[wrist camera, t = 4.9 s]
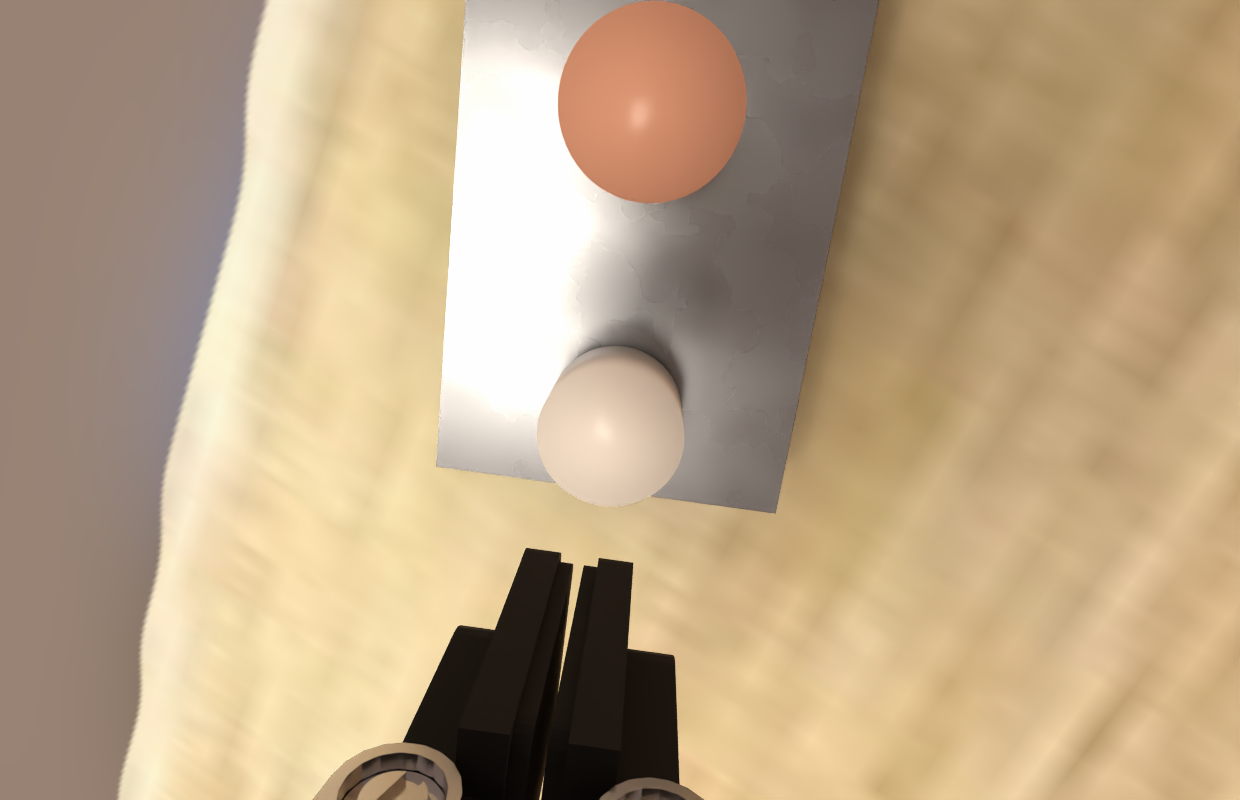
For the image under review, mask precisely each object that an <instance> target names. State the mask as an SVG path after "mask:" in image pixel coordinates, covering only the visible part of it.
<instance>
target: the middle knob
mask: <svg viewBox="0 0 1240 800" xmlns="http://www.w3.org/2000/svg"><path fill="white" fill-rule="evenodd" d="M746 107H747V94H746V85H745V78H744V74H743V71H742V67H741V64H740V62H739V59H738V57H737V55H736V52H735V51H734V49H733V47H732V46H731V44H730V42H729V41H728V39H727V38H726V37H725V36H724V34H723V33H722V32H721V31H720V30H719V29H718V28H717V27H716V26H715V25H714V24H713V23H712V22H711V21H710V20H708V19H707V18H705V17H704V16H703V15H701V14H700V13H698V12H696V11H694V10H692V9H690V8H688V7H685V6H682V5H679V4H676V3H671V2H666V1H643V2H636V3H632V4H628V5H625V6H623V7H620V8H617V9H615V10H613V11H611V12H610V13H608V14H606V15H604V16H603V17H601V18H600V19H599V20H598V21H596V22H595V23H594V24H593V25H591V26H590V27H589V28H588V29H587V30H586V31H585V32H584V34H583V35H582V36H581V37H580V39H579V40H578V41H577V43H576V44H575V46H574V47H573V49H572V51H571V53H570V54H569V56H568V59H567V61H566V63H565V66H564V68H563V72H562V75H561V79H560V84H559V90H558V118H559V124H560V128H561V133H562V136H563V139H564V142H565V144H566V146H567V149H568V151H569V153H570V155H571V157H572V158H573V160H574V161H575V163H576V164H577V166H578V167H579V168H580V169H581V171H582V172H583V173H584V174H585V175H586V176H587V177H588V178H589V179H590V180H591V181H592V182H593V183H595V184H596V185H597V186H599V187H600V188H602V189H603V190H605V191H606V192H608V193H610V194H612V195H614V196H616V197H619V198H622V199H625V200H628V201H633V202H638V203H663V202H668V201H673V200H676V199H679V198H682V197H685V196H687V195H689V194H691V193H693V192H695V191H697V190H698V189H700V188H701V187H703V186H704V185H706V184H707V183H708V182H709V181H711V180H712V179H713V178H714V177H715V176H716V175H717V174H718V173H719V172H720V171H721V169H722V168H723V167H724V166H725V165H726V163H727V162H728V160H729V159H730V157H731V156H732V154H733V152H734V150H735V148H736V146H737V144H738V142H739V139H740V136H741V133H742V131H743V126H744V122H745V117H746Z"/></svg>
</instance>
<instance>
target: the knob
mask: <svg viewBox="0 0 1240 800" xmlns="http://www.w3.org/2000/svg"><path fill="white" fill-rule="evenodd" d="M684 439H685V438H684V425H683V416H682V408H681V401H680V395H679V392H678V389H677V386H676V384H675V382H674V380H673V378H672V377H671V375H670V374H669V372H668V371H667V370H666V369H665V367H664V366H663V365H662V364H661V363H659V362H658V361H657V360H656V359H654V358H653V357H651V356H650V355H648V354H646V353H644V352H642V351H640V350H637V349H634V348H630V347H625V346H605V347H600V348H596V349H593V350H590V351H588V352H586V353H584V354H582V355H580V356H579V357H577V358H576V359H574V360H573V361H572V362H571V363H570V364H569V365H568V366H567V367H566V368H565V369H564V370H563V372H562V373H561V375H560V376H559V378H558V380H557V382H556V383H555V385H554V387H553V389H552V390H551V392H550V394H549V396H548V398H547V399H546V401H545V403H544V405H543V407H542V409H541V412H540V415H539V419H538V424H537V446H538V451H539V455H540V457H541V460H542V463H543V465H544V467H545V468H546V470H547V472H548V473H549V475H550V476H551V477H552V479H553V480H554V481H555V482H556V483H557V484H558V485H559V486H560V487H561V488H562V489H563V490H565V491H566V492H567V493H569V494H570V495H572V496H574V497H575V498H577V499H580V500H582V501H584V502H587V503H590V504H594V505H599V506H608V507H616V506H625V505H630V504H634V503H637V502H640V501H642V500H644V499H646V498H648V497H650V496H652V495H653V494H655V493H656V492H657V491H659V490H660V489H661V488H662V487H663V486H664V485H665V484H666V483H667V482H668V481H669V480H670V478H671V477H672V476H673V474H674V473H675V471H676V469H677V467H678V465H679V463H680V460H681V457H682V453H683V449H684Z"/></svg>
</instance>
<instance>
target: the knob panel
mask: <svg viewBox="0 0 1240 800" xmlns="http://www.w3.org/2000/svg"><path fill="white" fill-rule="evenodd" d="M643 1H666V2H671V3H676V4H679V5H682V6H685V7H688V8H690V9H692V10H694V11H696V12H698V13H700V14H701V15H703V16H704V17H705V18H707V19H708V20H710V21H711V22H712V23H713V24H714V25H715V26H716V27H717V28H718V29H719V30H720V31H721V32H722V33H723V34H724V36H725V37H726V38H727V39H728V41H729V42H730V44H731V46H732V47H733V49H734V51H735V52H736V55H737V57H738V59H739V62H740V64H741V67H742V71H743V74H744V78H745V85H746V94H747V107H746V117H745V122H744V126H743V131H742V133H741V136H740V139H739V142H738V144H737V146H736V148H735V150H734V152H733V154H732V156H731V157H730V159H729V160H728V162H727V163H726V165H725V166H724V167H723V168H722V169H721V171H720V172H719V173H718V174H717V175H716V176H715V177H714V178H713V179H712V180H711V181H709V182H708V183H707V184H706V185H704V186H703V187H701V188H700V189H698V190H697V191H695V192H693V193H691V194H689V195H687V196H685V197H682V198H679V199H676V200H673V201H668V202H663V203H638V202H633V201H628V200H625V199H622V198H619V197H616V196H614V195H612V194H610V193H608V192H606V191H605V190H603V189H602V188H600V187H599V186H597V185H596V184H595V183H593V182H592V181H591V180H590V179H589V178H588V177H587V176H586V175H585V174H584V173H583V172H582V171H581V169H580V168H579V167H578V166H577V164H576V163H575V161H574V160H573V158H572V157H571V155H570V153H569V151H568V149H567V146H566V144H565V142H564V139H563V136H562V133H561V128H560V124H559V118H558V90H559V84H560V79H561V75H562V72H563V68H564V66H565V63H566V61H567V59H568V56H569V54H570V53H571V51H572V49H573V47H574V46H575V44H576V43H577V41H578V40H579V39H580V37H581V36H582V35H583V34H584V32H585V31H586V30H587V29H588V28H589V27H590V26H591V25H593V24H594V23H595V22H596V21H598V20H599V19H600V18H601V17H603V16H604V15H606V14H608V13H610V12H611V11H613V10H615V9H617V8H620V7H623V6H625V5H628V4H632V3H636V2H643ZM878 3H879V0H466V2H465V17H464V33H463V49H462V65H461V81H460V97H459V113H458V128H457V144H456V160H455V176H454V192H453V208H452V224H451V239H450V255H449V271H448V287H447V303H446V319H445V334H444V350H443V366H442V382H441V398H440V414H439V430H438V445H437V461H436V467H442V468H450V469H457V470H464V471H471V472H478V473H486V474H493V475H500V476H507V477H515V478H522V479H529V480H536V481H544V482H551V483H556V482H555V481H554V480H553V479H552V477H551V476H550V475H549V473H548V472H547V470H546V468H545V467H544V465H543V463H542V460H541V457H540V455H539V451H538V446H537V424H538V419H539V415H540V412H541V409H542V407H543V405H544V403H545V401H546V399H547V398H548V396H549V394H550V392H551V390H552V389H553V387H554V385H555V383H556V382H557V380H558V378H559V376H560V375H561V373H562V372H563V370H564V369H565V368H566V367H567V366H568V365H569V364H570V363H571V362H572V361H573V360H574V359H576V358H577V357H579V356H580V355H582V354H584V353H586V352H588V351H590V350H593V349H596V348H600V347H605V346H625V347H630V348H634V349H637V350H640V351H642V352H644V353H646V354H648V355H650V356H651V357H653V358H654V359H656V360H657V361H658V362H659V363H661V364H662V365H663V366H664V367H665V369H666V370H667V371H668V372H669V374H670V375H671V377H672V378H673V380H674V382H675V384H676V386H677V389H678V392H679V395H680V401H681V408H682V416H683V425H684V438H685V439H684V449H683V453H682V457H681V460H680V463H679V465H678V467H677V469H676V471H675V473H674V474H673V476H672V477H671V478H670V480H669V481H668V482H667V483H666V484H665V485H664V486H663V487H662V488H661V489H660V490H659V491H657V492H656V493H655V494H653V495H652V497H659V498H667V499H674V500H681V501H688V502H695V503H703V504H710V505H717V506H724V507H732V508H739V509H746V510H753V511H761V512H768V513H775V514H776V509H777V504H778V499H779V494H780V489H781V484H782V479H783V474H784V469H785V464H786V459H787V454H788V449H789V444H790V439H791V434H792V429H793V425H794V420H795V415H796V410H797V405H798V400H799V395H800V390H801V385H802V380H803V375H804V370H805V365H806V360H807V355H808V350H809V345H810V340H811V335H812V330H813V325H814V320H815V315H816V311H817V306H818V301H819V296H820V291H821V286H822V281H823V276H824V271H825V266H826V261H827V256H828V251H829V246H830V241H831V236H832V231H833V226H834V221H835V216H836V211H837V206H838V201H839V197H840V192H841V187H842V182H843V177H844V172H845V167H846V162H847V157H848V152H849V147H850V142H851V137H852V132H853V127H854V122H855V117H856V112H857V107H858V102H859V97H860V92H861V87H862V83H863V78H864V73H865V68H866V63H867V58H868V53H869V48H870V43H871V38H872V33H873V28H874V23H875V18H876V13H877V8H878Z"/></svg>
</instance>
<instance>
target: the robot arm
mask: <svg viewBox="0 0 1240 800" xmlns="http://www.w3.org/2000/svg"><path fill="white" fill-rule="evenodd" d="M572 572H573V564H570V563H563V562H561V553H559V552H552V551H545V550H537V549H530V548H526V550H525V552H524V554H523V557H522V560H521V562H520V565H519V568H518V570H517V573H516V576H515V578H514V581H513V583H512V586H511V589H510V591H509V594H508V597H507V599H506V602H505V605H504V607H503V610H502V613H501V615H500V618H499V621H498V623H497V626H496V628H495V630H490V629H483V628H476V627H469V626H462V625H460V626H458V627H457V629H456V630H455V632H454V634H453V636H452V638H451V640H450V643H449V645H448V647H447V649H446V651H445V653H444V655H443V657H442V660H441V662H440V664H439V666H438V668H437V670H436V672H435V675H434V677H433V679H432V681H431V683H430V685H429V687H428V689H427V692H426V694H425V696H424V698H423V700H422V702H421V704H420V706H419V709H418V711H417V713H416V715H415V717H414V719H413V721H412V724H411V726H410V728H409V730H408V732H407V734H406V736H405V738H404V741H403V743H394V744H384V745H381V746H378V747H374V748H371V749H368V750H365V751H363V752H361V753H359V754H358V755H356V756H354V757H353V758H351V759H349V760H347V761H346V762H345V763H344V764H343V765H342V766H341V767H340V768H339V769H338V770H337V771H336V772H334V773H333V774H332V775H331V777H330V778H329V779H328V781H327V782H326V783H325V784H324V786H323V787H322V788H321V790H320V791H319V792H318V793H317V795H316V796H315V797H314V799H313V800H539V797H540V792H541V787H542V782H543V777H544V782H543V790H542V798H541V800H704V799H702V798H701V797H700V796H698V795H697V794H695V793H694V792H693V791H691V790H690V789H688V788H687V787H684V786H682V785H679V759H678V731H677V704H676V676H675V658H674V656H673V655H668V654H661V653H654V652H646V651H639V650H632V649H627V648H628V633H629V619H630V604H631V589H632V575H633V563H631V562H624V561H616V560H609V559H602V558H599V561H598V567H592V566H585V565H584V568H583V572H582V577H581V582H580V587H579V592H578V597H577V602H576V607H575V612H574V617H573V622H572V627H571V632H570V637H569V642H568V647H567V652H566V656H565V661H564V666H563V671H562V676H561V681H560V686H559V679H560V671H561V663H562V655H563V646H564V638H565V630H566V622H567V613H568V605H569V597H570V589H571V580H572ZM558 688H559V691H558ZM544 772H545V773H544Z"/></svg>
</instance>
